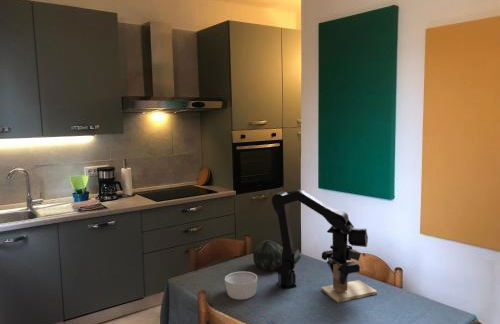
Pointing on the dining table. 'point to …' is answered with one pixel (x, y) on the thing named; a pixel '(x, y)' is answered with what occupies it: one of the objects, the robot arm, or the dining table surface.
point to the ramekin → (241, 285)
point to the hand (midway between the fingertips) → (340, 282)
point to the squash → (267, 255)
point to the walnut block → (338, 279)
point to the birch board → (350, 291)
